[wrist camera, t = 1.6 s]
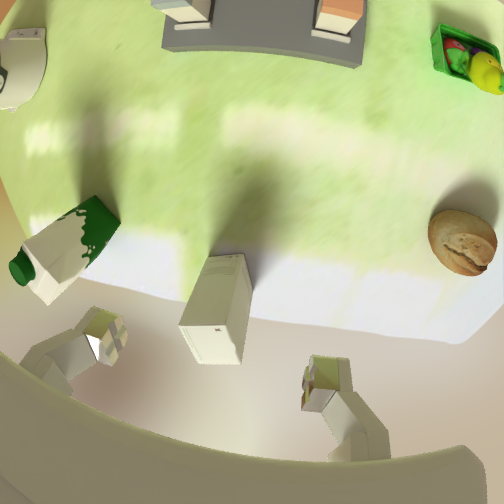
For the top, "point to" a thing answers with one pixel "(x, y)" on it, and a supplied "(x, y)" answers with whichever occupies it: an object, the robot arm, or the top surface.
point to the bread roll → (462, 242)
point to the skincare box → (219, 311)
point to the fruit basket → (467, 58)
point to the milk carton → (64, 249)
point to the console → (267, 31)
